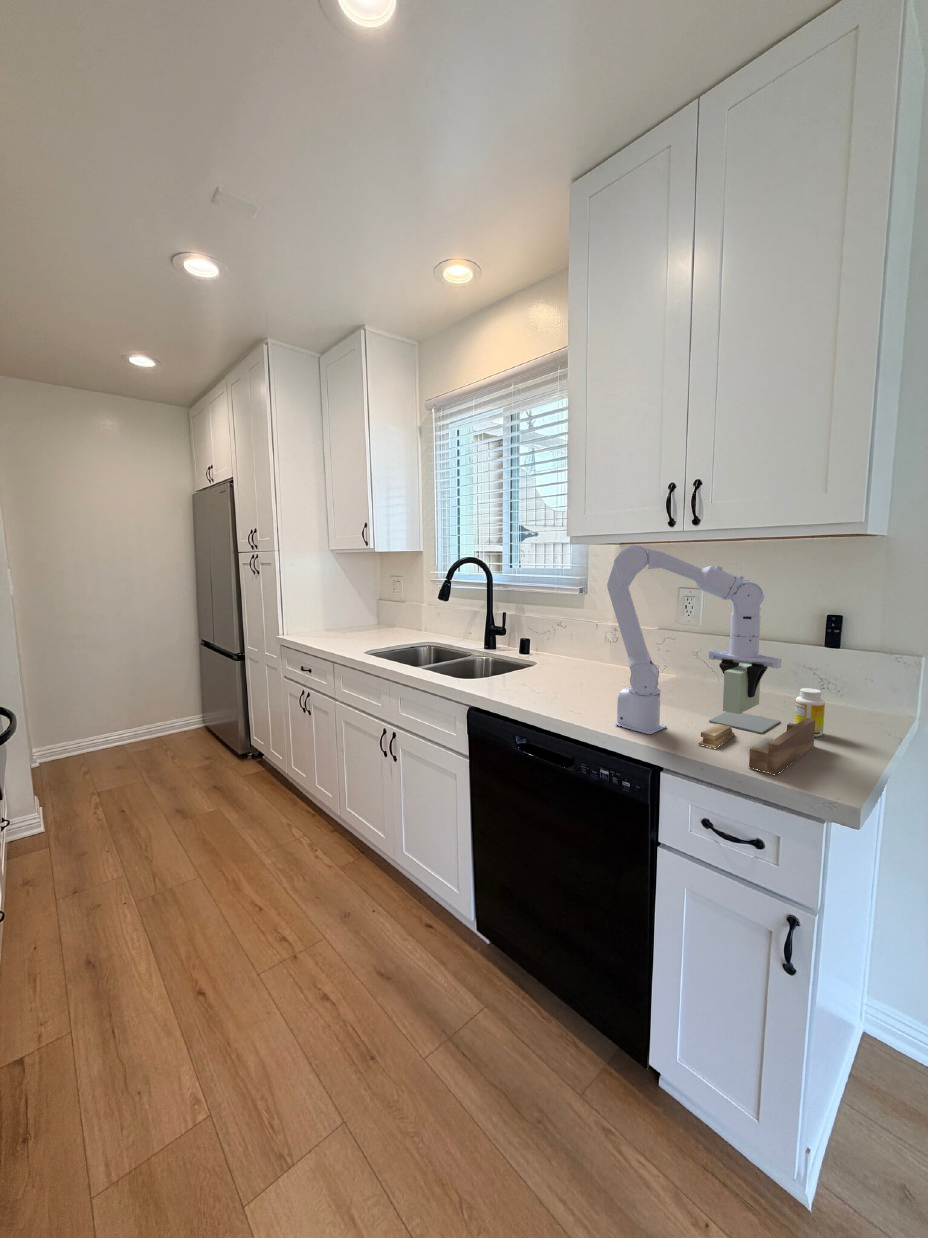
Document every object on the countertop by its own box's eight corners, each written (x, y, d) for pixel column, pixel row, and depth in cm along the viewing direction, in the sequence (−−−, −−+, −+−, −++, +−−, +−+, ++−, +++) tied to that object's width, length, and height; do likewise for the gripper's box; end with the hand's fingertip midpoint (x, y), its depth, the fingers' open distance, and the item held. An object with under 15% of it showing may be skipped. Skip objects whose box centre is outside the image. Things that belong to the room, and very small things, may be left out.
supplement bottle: (824, 732, 117) (827, 689, 116) (820, 739, 113) (823, 694, 112) (796, 727, 121) (798, 685, 120) (791, 734, 117) (793, 690, 116)
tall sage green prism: (722, 710, 113) (724, 671, 112) (743, 701, 120) (745, 663, 119) (738, 714, 110) (740, 673, 109) (758, 704, 117) (760, 665, 116)
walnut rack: (748, 768, 99) (750, 738, 98) (788, 740, 113) (790, 714, 113) (776, 776, 96) (777, 745, 95) (813, 746, 110) (815, 719, 109)
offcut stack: (697, 747, 112) (698, 734, 111) (717, 733, 120) (717, 721, 120) (716, 751, 109) (716, 738, 109) (735, 737, 117) (735, 724, 117)
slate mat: (708, 722, 127) (709, 720, 126) (729, 711, 134) (729, 710, 134) (761, 734, 117) (761, 732, 117) (780, 722, 125) (780, 720, 125)
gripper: (787, 636, 110) (784, 697, 112) (719, 630, 121) (716, 685, 123) (775, 640, 106) (772, 704, 107) (705, 633, 117) (703, 691, 118)
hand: (741, 694), depth 115 cm, fingers closed on tall sage green prism, 3 cm apart
